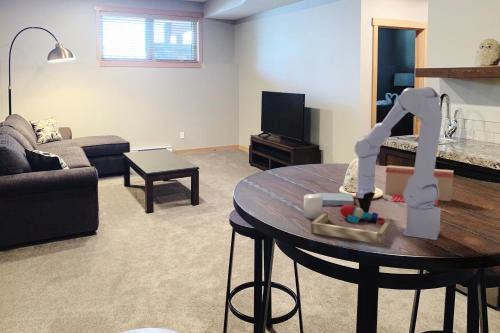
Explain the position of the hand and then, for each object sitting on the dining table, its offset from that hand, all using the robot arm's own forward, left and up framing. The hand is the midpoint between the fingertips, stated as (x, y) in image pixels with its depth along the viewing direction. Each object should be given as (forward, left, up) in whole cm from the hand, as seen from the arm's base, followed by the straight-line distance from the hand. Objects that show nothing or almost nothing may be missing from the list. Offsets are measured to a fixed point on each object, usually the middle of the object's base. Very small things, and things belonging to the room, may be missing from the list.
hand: (364, 213), depth 150 cm
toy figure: (0, +5, -2) cm, 5 cm away
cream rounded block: (+16, +8, -1) cm, 18 cm away
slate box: (+15, -12, -2) cm, 19 cm away
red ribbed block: (-12, -29, -1) cm, 31 cm away
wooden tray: (0, +17, -1) cm, 17 cm away
